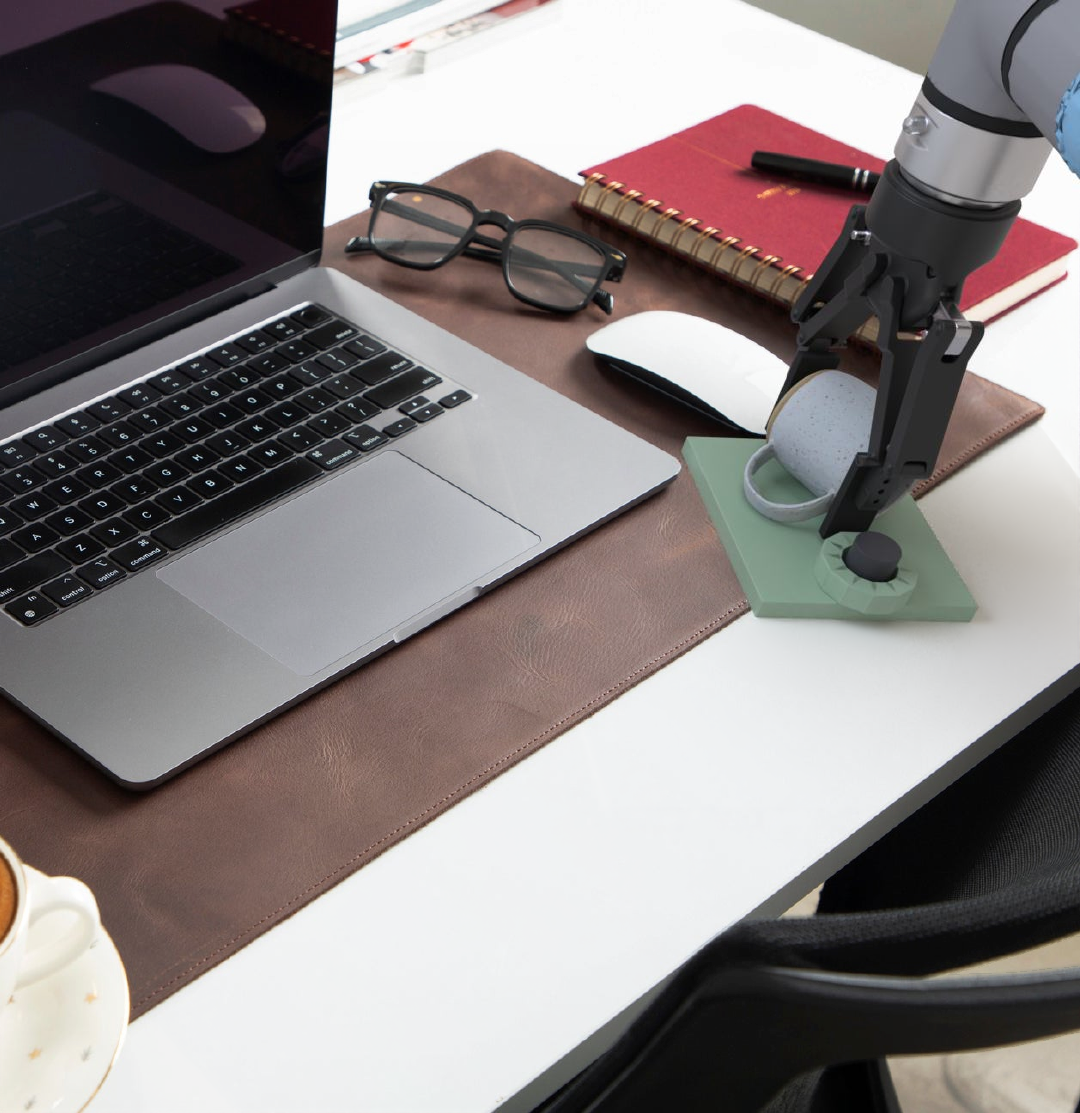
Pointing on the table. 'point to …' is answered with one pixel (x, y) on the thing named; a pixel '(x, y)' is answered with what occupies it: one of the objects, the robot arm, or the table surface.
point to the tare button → (873, 556)
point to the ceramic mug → (818, 442)
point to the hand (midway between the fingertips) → (811, 482)
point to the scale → (818, 548)
